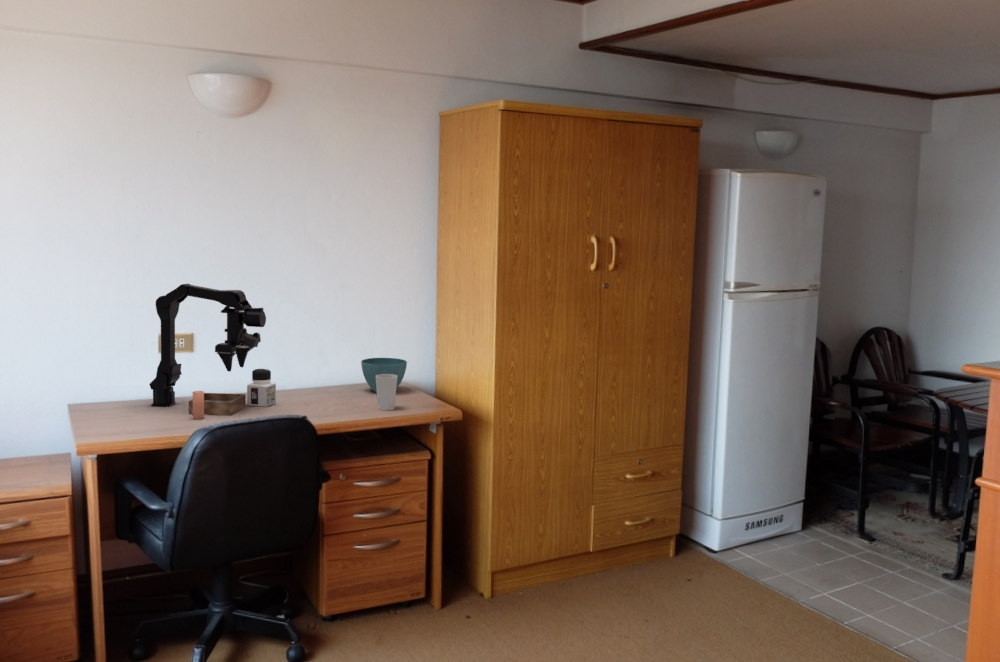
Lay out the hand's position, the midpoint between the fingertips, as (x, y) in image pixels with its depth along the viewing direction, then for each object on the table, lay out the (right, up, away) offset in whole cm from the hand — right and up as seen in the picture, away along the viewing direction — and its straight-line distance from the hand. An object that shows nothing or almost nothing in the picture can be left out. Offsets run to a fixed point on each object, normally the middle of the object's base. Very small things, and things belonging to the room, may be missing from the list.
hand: (235, 369), depth 306 cm
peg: (-8, -16, -15) cm, 23 cm away
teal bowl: (+47, -11, +41) cm, 63 cm away
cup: (+53, -15, +9) cm, 55 cm away
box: (-6, -14, -2) cm, 16 cm away
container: (+7, -14, +10) cm, 18 cm away
